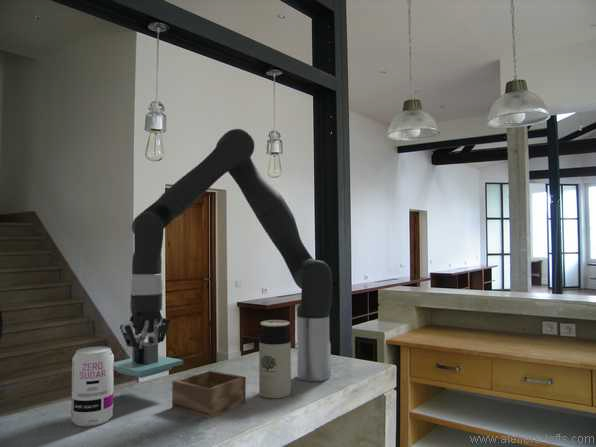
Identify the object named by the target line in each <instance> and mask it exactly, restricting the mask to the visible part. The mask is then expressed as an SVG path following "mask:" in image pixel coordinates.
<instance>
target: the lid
mask: <svg viewBox="0 0 596 447" xmlns="http://www.w3.org/2000/svg"><path fill="white" fill-rule="evenodd" d="M142 349H144V359H143V364H137V363H136V362H135V360H134V348H133V347H132V356H131V357H132V358H131V357H130V358H127V359H123V360H119V361H114V371H115V372H117V374H122V375H126V376H131V377H135V378H140V379H143V378H146V377H149V376H150V377H151V376H154V375H157V374H162V373H165V372H168V371H172V370H173V368H174V367H177V366H180V365H184V360H183V359H180V358H173V357H169V356H162V355H159V343H158V344H155V343H149V342H148V341H144V345H143V348H142Z"/></svg>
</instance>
